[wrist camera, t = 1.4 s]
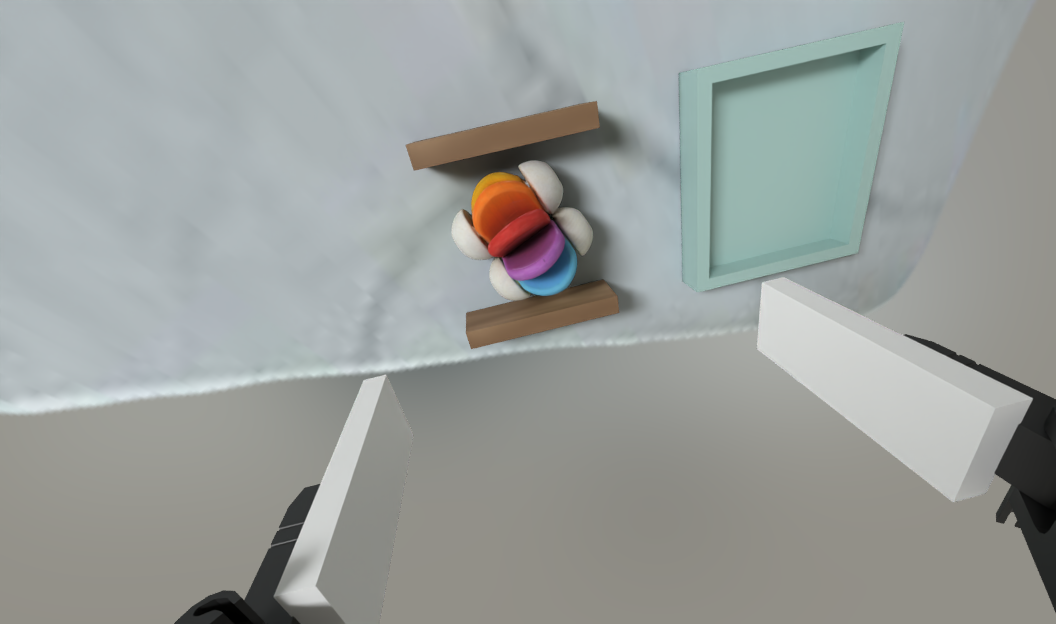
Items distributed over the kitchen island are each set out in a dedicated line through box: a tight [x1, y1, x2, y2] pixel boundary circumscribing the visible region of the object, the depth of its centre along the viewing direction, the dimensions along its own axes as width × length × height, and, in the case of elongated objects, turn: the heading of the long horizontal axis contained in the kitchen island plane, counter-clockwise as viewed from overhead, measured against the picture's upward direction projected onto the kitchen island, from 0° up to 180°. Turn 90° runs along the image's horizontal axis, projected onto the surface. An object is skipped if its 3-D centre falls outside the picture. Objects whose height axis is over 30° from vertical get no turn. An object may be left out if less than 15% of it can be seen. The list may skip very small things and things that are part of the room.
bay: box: [406, 101, 619, 349], centre depth 29 cm, size 15×12×4 cm
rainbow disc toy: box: [452, 160, 593, 301], centre depth 27 cm, size 8×10×7 cm
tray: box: [679, 22, 904, 292], centre depth 30 cm, size 16×14×2 cm
